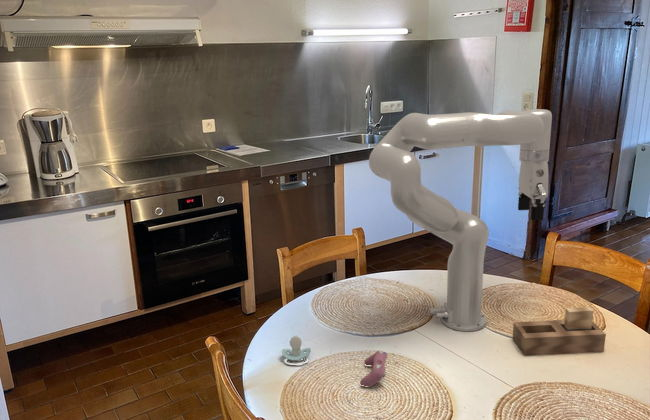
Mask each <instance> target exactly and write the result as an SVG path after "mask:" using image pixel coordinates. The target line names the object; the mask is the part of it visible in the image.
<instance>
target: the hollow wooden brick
mask: <svg viewBox="0 0 650 420" xmlns="http://www.w3.org/2000/svg"><path fill="white" fill-rule="evenodd" d="M564 322H565V319H556V320H555V319H553V320H536V321H535V320H534V321H533V320H532V321H531V320H530V321H513V328H512V341H513V342H514V343H515V345H516V346H517V348H518V349H519V351H520V352H521V353H522V355H523V356H524V357H529V356H546V355H548V356H549V355H569V354H585V353H586V354H588V353H589V354H590V353H604V352H605V344H606V335H607V333H605V331H603V330H602V329H601V328H600V327H599V326H598V325H597V324H596V323H595V322H594V321H593V320H592V328H591V330H584V331H566V330H565V329H564Z"/></svg>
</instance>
